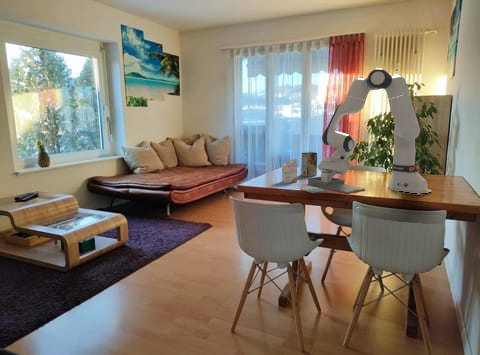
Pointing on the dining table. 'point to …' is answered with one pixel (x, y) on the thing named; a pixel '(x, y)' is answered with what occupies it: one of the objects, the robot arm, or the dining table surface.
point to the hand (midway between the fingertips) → (325, 176)
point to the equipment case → (334, 185)
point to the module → (326, 176)
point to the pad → (313, 189)
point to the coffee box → (309, 164)
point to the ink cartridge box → (289, 171)
